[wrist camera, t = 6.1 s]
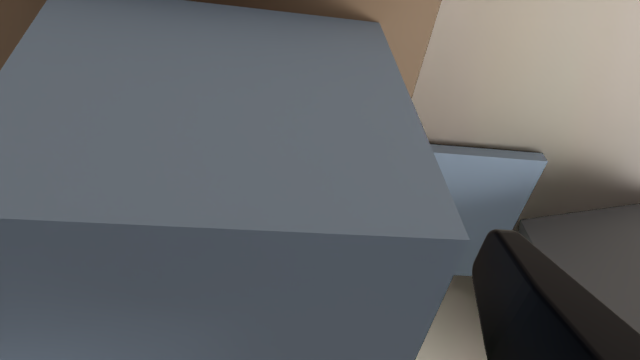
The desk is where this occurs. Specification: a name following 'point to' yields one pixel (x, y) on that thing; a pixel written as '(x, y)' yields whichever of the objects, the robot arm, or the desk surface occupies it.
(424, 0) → the walnut plinth
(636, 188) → the desk surface
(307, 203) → the blue cube
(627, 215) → the charcoal cube
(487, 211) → the swatch
